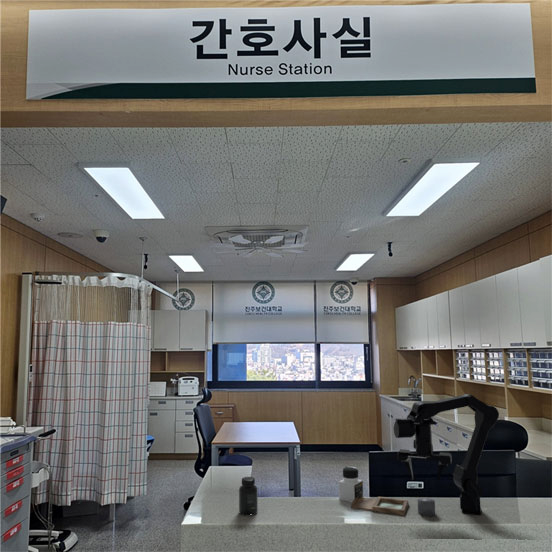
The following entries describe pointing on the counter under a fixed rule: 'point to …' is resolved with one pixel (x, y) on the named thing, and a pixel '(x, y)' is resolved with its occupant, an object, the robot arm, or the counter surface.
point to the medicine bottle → (350, 485)
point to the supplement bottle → (248, 496)
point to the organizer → (381, 505)
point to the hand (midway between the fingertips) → (425, 481)
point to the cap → (426, 507)
